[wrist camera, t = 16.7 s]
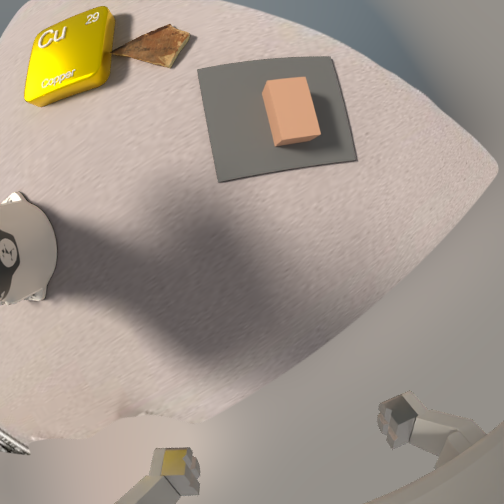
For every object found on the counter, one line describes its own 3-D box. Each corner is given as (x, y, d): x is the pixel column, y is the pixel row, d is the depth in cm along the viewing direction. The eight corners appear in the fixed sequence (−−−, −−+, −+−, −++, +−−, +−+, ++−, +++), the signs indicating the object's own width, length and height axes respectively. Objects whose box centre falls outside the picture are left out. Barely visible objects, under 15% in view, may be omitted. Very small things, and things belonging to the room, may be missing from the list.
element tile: (35, 110, 32) (20, 105, 27) (46, 41, 29) (33, 32, 24) (110, 84, 33) (98, 73, 29) (117, 14, 30) (108, 0, 25)
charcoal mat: (218, 182, 38) (218, 182, 37) (197, 71, 34) (197, 69, 33) (354, 160, 39) (356, 160, 38) (329, 58, 35) (330, 56, 34)
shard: (112, 56, 32) (109, 51, 30) (137, 20, 31) (135, 15, 29) (169, 71, 34) (167, 67, 32) (194, 34, 33) (193, 28, 31)
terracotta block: (281, 140, 32) (266, 80, 30) (274, 146, 37) (261, 93, 35) (320, 134, 32) (305, 76, 30) (309, 141, 37) (296, 89, 35)
